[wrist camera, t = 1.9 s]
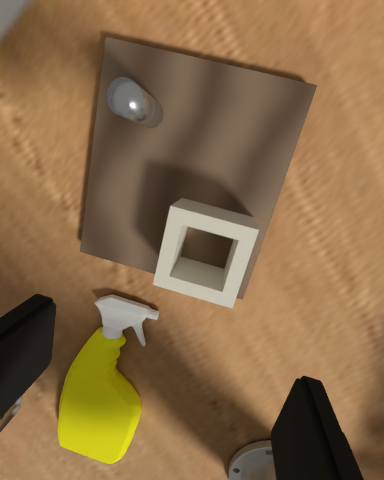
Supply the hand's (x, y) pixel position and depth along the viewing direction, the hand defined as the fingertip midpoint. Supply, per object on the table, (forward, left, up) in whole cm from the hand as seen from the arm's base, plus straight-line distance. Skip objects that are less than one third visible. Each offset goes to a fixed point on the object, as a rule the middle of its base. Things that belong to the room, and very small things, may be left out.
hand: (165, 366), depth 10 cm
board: (+4, -5, -18) cm, 19 cm away
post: (+8, -10, -17) cm, 21 cm away
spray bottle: (+8, +22, -19) cm, 30 cm away
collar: (0, 0, -17) cm, 17 cm away
